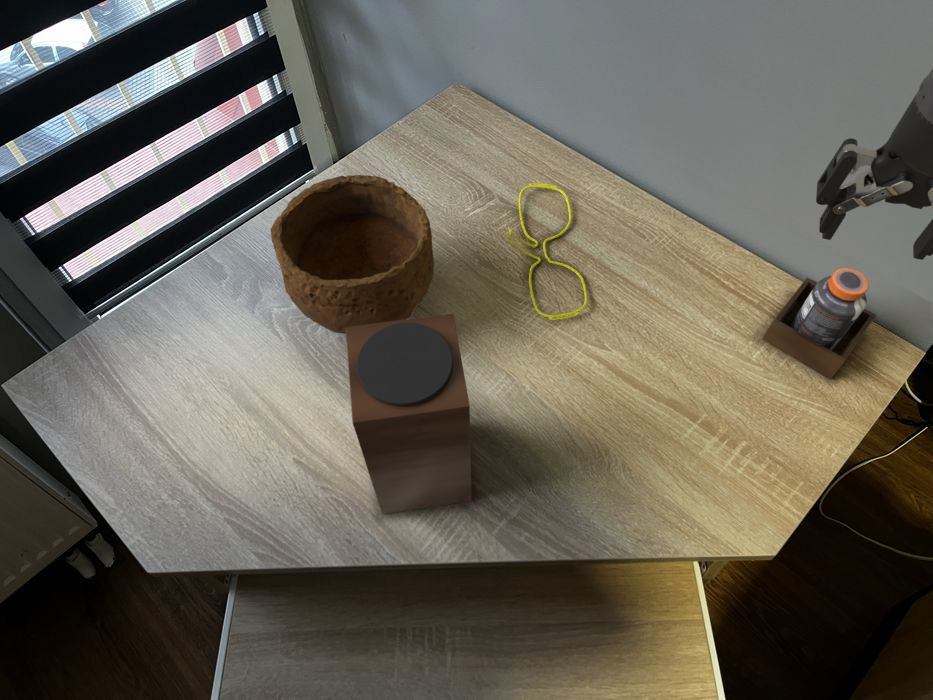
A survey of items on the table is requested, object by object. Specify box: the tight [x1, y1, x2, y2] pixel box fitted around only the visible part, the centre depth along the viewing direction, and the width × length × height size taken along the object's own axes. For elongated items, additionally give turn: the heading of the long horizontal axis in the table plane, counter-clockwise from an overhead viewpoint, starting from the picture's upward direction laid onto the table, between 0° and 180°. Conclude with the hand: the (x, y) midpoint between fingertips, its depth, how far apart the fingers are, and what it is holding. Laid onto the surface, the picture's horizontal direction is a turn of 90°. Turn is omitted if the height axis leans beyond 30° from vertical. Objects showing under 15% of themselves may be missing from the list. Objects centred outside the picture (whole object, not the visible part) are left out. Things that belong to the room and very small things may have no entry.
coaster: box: [357, 323, 453, 406], centre depth 61 cm, size 8×8×1 cm
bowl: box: [270, 174, 435, 335], centre depth 87 cm, size 19×19×15 cm
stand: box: [345, 312, 473, 515], centre depth 71 cm, size 10×10×22 cm
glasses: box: [507, 182, 588, 321], centre depth 96 cm, size 25×10×5 cm, turn 3°
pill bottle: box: [789, 267, 870, 352], centre depth 84 cm, size 6×6×11 cm
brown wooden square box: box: [762, 277, 877, 380], centre depth 88 cm, size 9×9×4 cm
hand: (871, 243), depth 69 cm, fingers open, 8 cm apart
